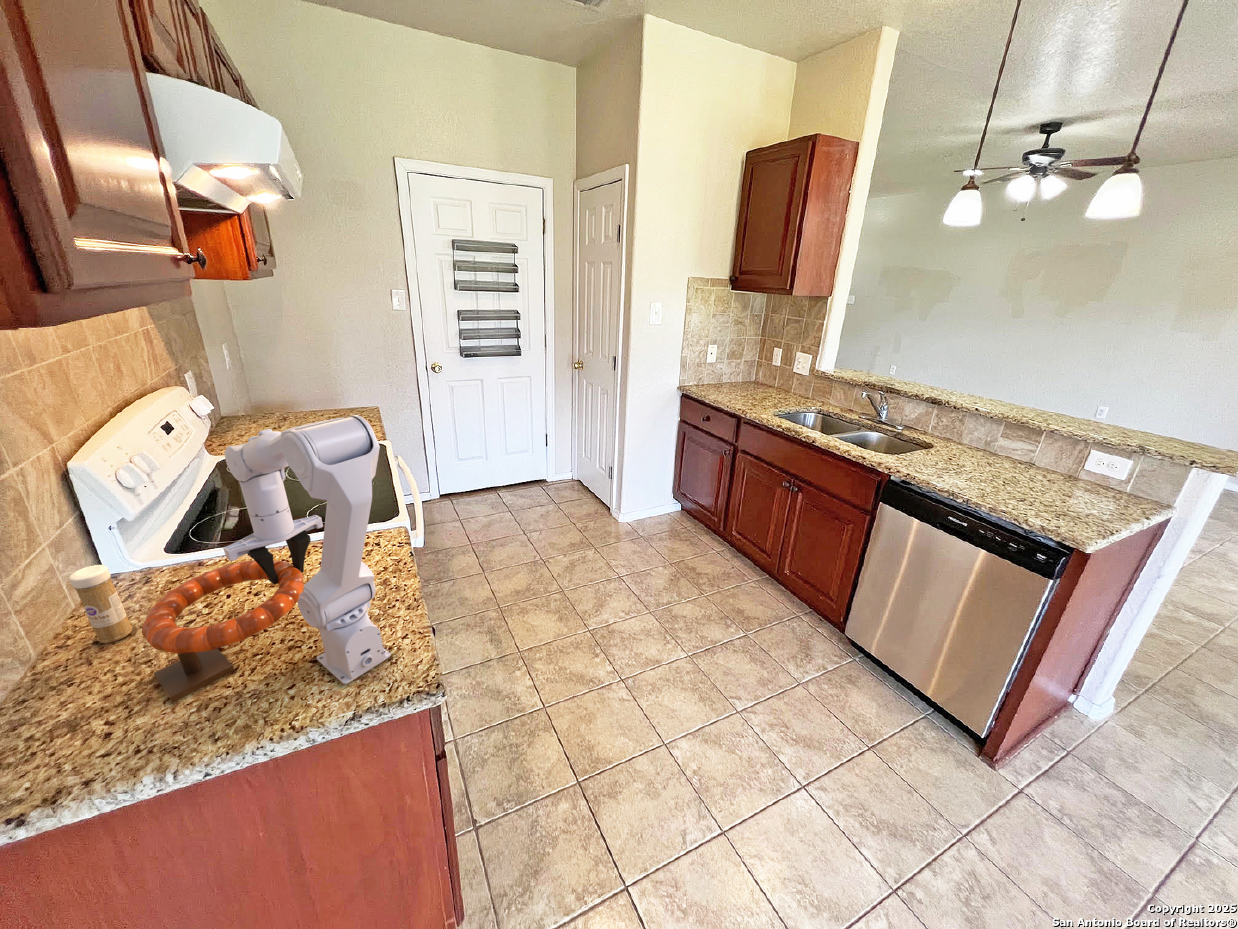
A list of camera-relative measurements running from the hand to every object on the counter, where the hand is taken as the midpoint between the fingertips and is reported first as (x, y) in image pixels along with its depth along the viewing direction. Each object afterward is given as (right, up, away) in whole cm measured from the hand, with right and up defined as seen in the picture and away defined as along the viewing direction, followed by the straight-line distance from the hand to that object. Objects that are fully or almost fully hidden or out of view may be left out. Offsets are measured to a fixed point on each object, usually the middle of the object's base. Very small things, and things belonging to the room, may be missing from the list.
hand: (287, 576), depth 88 cm
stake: (-9, -14, -9) cm, 19 cm away
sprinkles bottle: (-30, -10, -1) cm, 31 cm away
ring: (-5, -3, -7) cm, 9 cm away
